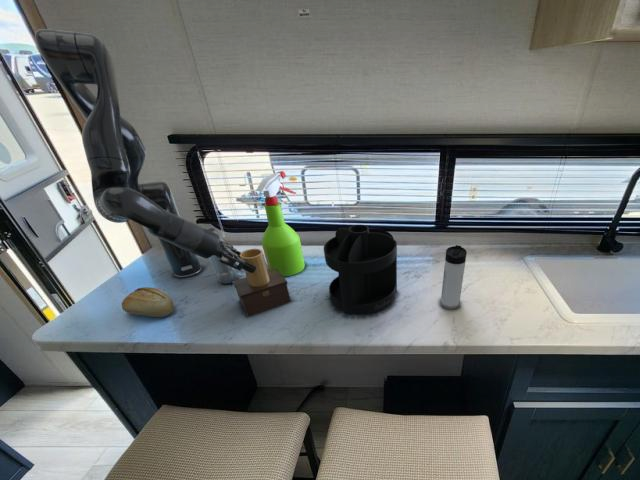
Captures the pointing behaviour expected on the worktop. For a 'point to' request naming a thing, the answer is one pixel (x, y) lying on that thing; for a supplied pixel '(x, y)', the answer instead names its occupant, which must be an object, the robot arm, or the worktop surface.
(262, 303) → the box
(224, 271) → the plastic bottle
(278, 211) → the spray bottle
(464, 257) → the travel mug
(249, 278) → the cup
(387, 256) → the container
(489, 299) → the worktop surface
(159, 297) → the bread roll
